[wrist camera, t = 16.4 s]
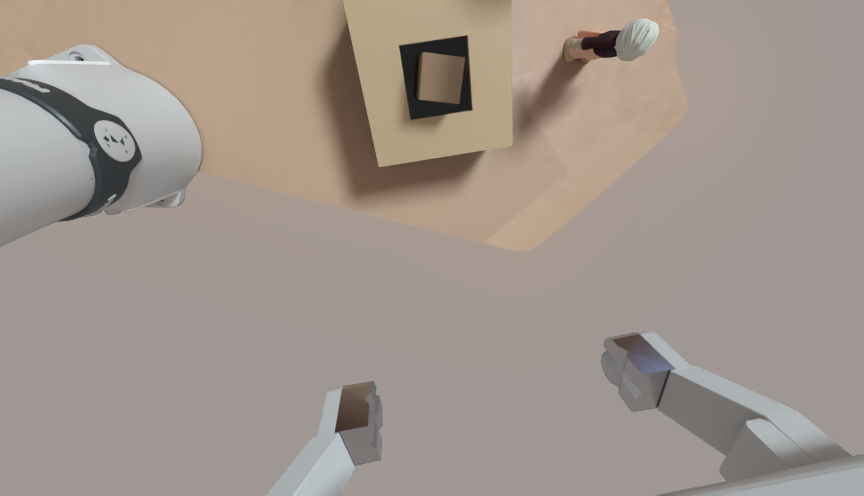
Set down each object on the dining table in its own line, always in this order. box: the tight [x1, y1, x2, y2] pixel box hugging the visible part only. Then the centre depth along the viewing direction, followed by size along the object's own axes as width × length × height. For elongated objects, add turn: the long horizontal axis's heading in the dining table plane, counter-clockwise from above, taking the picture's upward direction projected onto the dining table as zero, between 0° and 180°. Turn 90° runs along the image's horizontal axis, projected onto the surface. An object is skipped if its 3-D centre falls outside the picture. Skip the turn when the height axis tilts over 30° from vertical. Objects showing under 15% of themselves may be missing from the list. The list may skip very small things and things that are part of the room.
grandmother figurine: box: [564, 19, 659, 63], centre depth 34 cm, size 8×4×13 cm, turn 97°
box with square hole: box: [343, 0, 513, 167], centre depth 36 cm, size 16×16×8 cm
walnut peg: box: [414, 52, 465, 104], centre depth 34 cm, size 4×4×10 cm
